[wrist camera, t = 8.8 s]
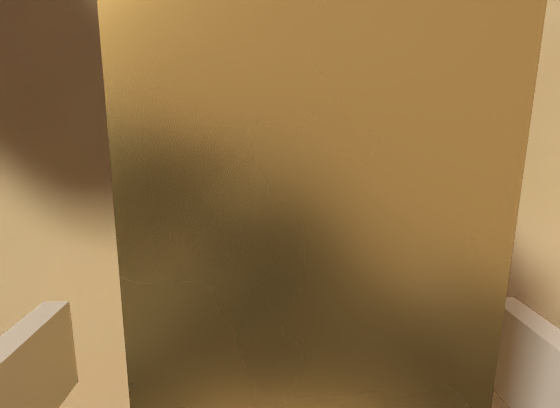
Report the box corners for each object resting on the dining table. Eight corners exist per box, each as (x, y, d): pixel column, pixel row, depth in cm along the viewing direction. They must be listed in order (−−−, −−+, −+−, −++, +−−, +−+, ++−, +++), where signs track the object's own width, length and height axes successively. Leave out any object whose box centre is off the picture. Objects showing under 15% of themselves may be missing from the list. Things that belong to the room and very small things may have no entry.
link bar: (228, 485, 17) (177, 978, 7) (218, 52, 13) (85, -145, 4) (330, 483, 17) (415, 961, 7) (348, 53, 13) (565, -129, 4)
